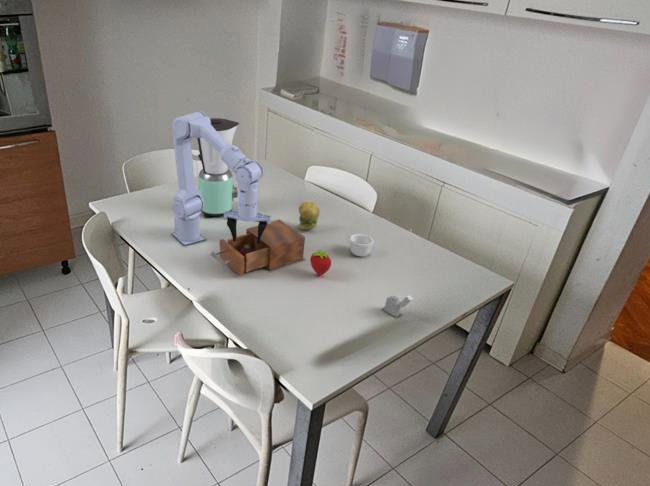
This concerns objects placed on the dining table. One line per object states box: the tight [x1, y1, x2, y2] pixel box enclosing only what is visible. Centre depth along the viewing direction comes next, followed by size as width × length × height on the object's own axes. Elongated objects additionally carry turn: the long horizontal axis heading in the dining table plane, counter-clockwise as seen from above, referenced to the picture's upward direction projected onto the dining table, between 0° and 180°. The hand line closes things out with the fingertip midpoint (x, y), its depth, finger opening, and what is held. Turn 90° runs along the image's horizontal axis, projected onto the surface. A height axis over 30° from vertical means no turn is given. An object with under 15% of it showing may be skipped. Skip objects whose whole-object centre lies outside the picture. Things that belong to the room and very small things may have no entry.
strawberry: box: [309, 249, 332, 277], centre depth 163 cm, size 6×8×10 cm
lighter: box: [383, 294, 414, 318], centre depth 148 cm, size 7×2×8 cm, turn 39°
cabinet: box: [245, 219, 306, 271], centre depth 174 cm, size 14×14×9 cm
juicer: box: [192, 117, 240, 218], centre depth 193 cm, size 19×13×35 cm
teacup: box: [346, 233, 374, 258], centre depth 178 cm, size 10×8×5 cm
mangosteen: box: [240, 245, 253, 261], centre depth 168 cm, size 4×4×5 cm
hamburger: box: [297, 201, 321, 231], centre depth 188 cm, size 8×7×12 cm
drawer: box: [210, 233, 270, 277], centre depth 167 cm, size 17×13×7 cm
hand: (246, 240), depth 166 cm, fingers open, 7 cm apart
